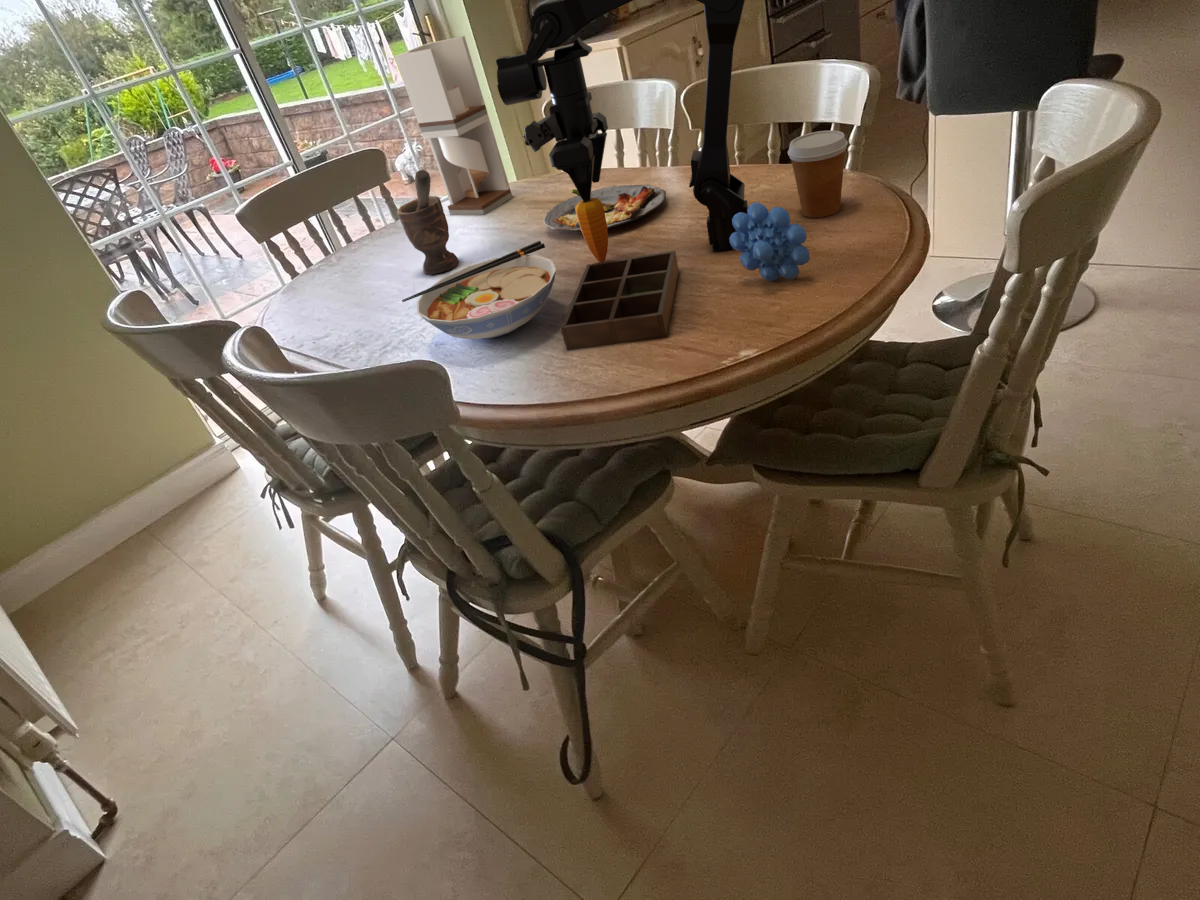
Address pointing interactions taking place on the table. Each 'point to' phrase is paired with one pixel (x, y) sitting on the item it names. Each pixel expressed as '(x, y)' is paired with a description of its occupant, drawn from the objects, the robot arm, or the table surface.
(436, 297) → the ramen bowl
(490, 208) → the white wooden shelf
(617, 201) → the food plate
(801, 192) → the disposable coffee cup
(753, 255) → the grapes
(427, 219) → the mortar and pestle
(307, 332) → the table surface
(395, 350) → the table surface
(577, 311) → the wooden compartment organizer
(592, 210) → the carrot
